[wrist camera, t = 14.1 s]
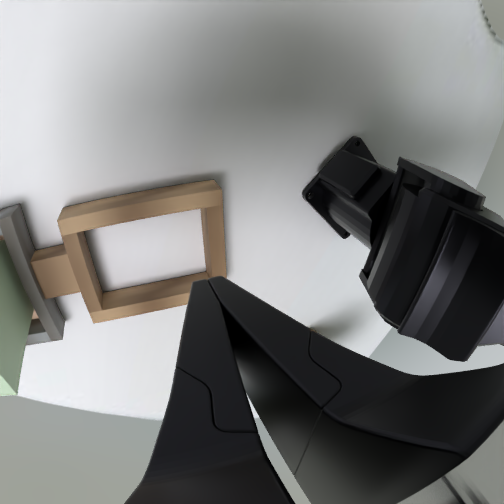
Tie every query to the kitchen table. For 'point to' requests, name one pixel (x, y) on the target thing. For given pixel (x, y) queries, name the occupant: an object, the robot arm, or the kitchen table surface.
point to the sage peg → (12, 323)
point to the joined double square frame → (81, 265)
